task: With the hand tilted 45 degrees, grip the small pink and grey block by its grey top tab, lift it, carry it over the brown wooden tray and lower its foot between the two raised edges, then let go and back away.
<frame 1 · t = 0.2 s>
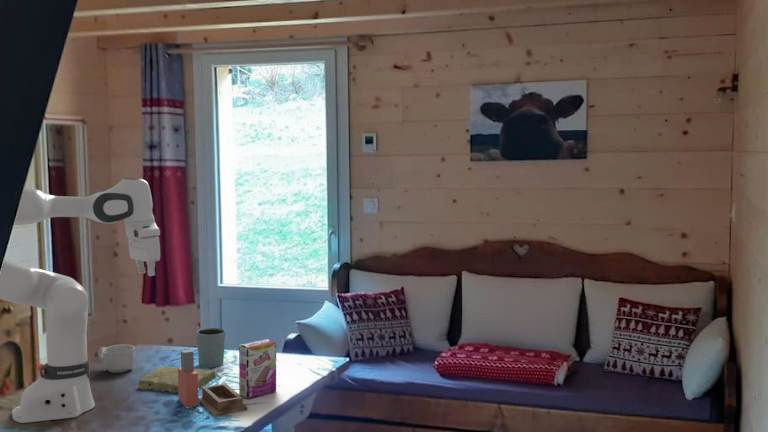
hand: (146, 274, 236), 38 cm above the table, tool pointing down, fingers open, 8 cm apart
candy bar box: (258, 394, 240), on the table
teacup: (116, 370, 267), on the table
brown wooden tray: (222, 405, 230), on the table
grey cup: (211, 364, 274), on the table
pink and grey block: (188, 402, 233), on the table
decorative tile: (176, 385, 252), on the table
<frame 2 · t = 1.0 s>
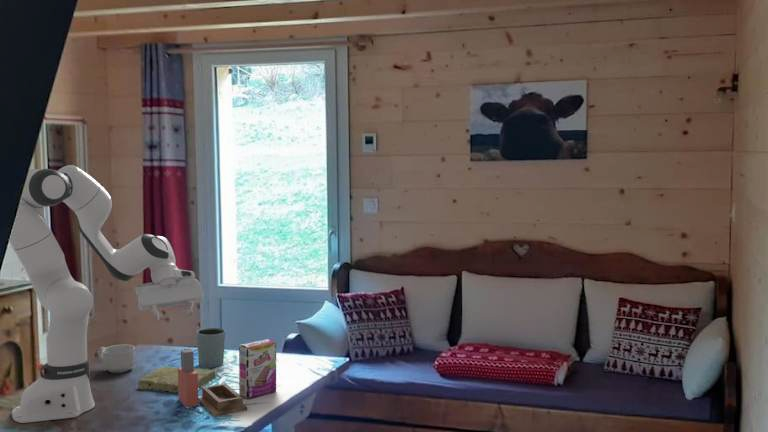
hand: (175, 316, 241), 24 cm above the table, tool tilted 45°, fingers open, 8 cm apart
nothing on the table moved.
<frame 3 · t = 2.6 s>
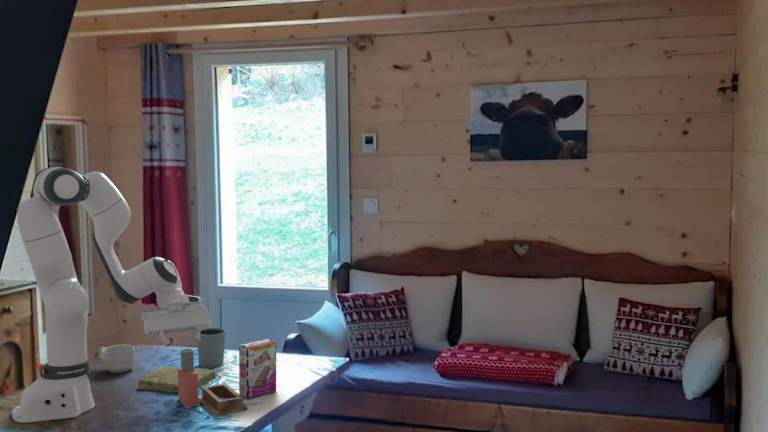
hand: (182, 342, 235), 17 cm above the table, tool tilted 45°, fingers open, 8 cm apart
nothing on the table moved.
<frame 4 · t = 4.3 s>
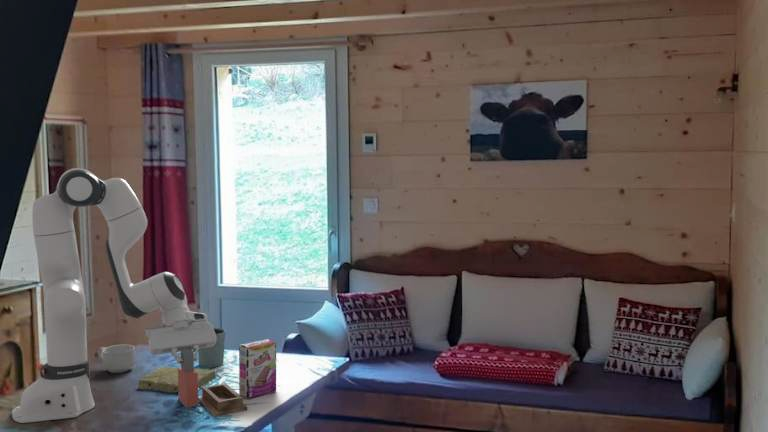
hand: (187, 361, 231), 13 cm above the table, tool tilted 45°, fingers closed on pink and grey block, 3 cm apart
pink and grey block: (188, 402, 233), on the table, touching gripper
everything else where it was.
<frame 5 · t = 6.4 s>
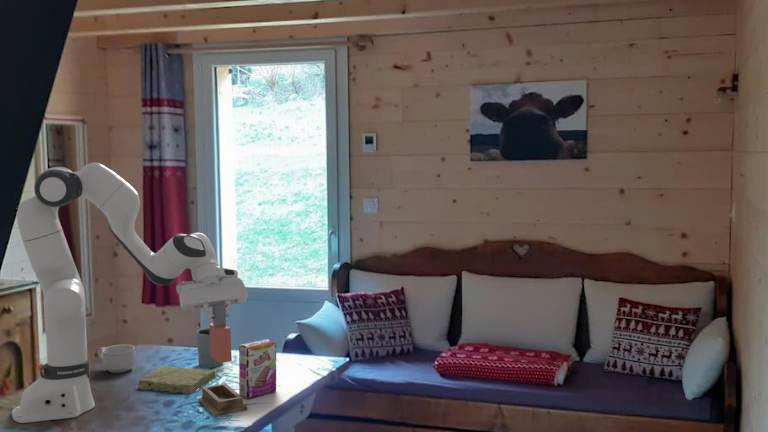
hand: (220, 316, 227), 27 cm above the table, tool tilted 45°, fingers closed on pink and grey block, 3 cm apart
pink and grey block: (221, 358, 229), point 14 cm above the table, touching gripper
everything else where it was.
when the fingers open (15 cm above the table, at t = 8.6 s): pink and grey block stays where it is, resting on brown wooden tray.
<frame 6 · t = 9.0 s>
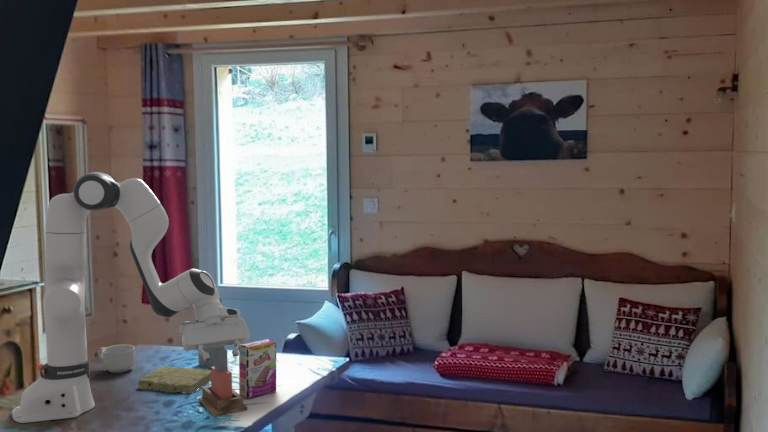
hand: (221, 357, 228), 15 cm above the table, tool tilted 45°, fingers open, 8 cm apart
pink and grey block: (221, 402, 230), point 1 cm above the table, touching brown wooden tray
everything else where it was.
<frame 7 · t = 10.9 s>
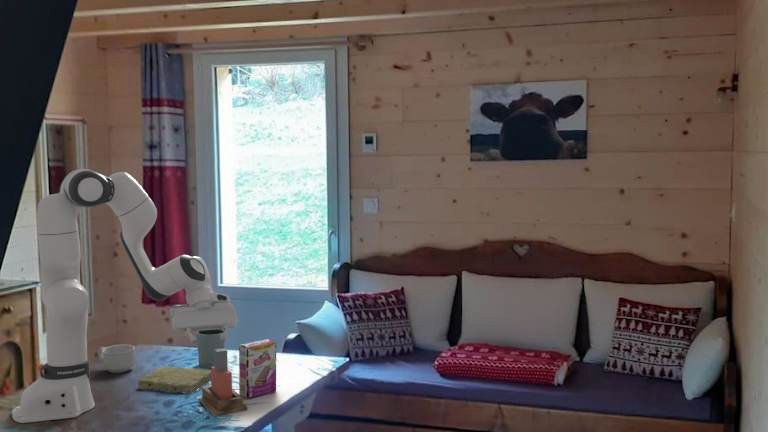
hand: (209, 340, 237), 17 cm above the table, tool tilted 45°, fingers open, 8 cm apart
nothing on the table moved.
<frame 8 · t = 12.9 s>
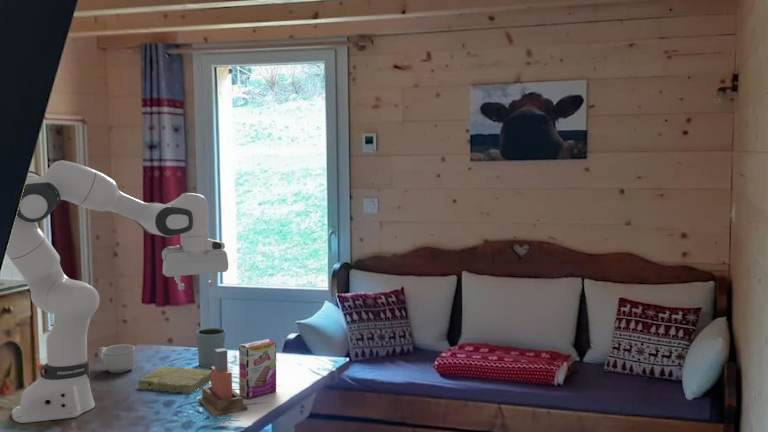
hand: (196, 288, 240), 33 cm above the table, tool pointing down, fingers open, 8 cm apart
nothing on the table moved.
at the end: pink and grey block 0.1 cm off-centre on the brown wooden tray, point 1.0 cm above the brown wooden tray's base; pink and grey block tilted 0°; the gripper is holding nothing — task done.
